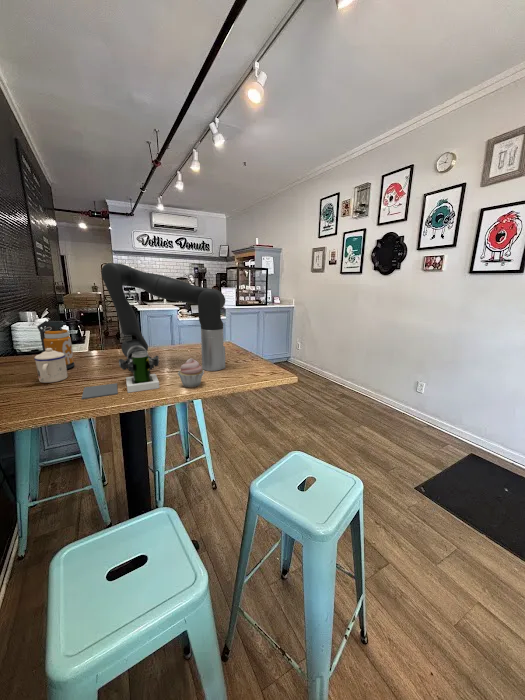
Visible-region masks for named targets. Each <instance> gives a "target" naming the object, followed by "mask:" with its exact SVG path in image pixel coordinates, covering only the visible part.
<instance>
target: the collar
mask: <svg viewBox="0 0 525 700" xmlns="http://www.w3.org/2000/svg"><path fill="white" fill-rule="evenodd" d="M125 380H126V382H125V383H126V389H127V393H135V392H142V391H150V390H155V389H156V390H157V389H160V381H159V379H158V377H157V374H156V373H150V381H151V382H144V383H137V384H134V376H133V375H132V376H126V377H125Z"/></svg>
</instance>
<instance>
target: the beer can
mask: <svg viewBox="0 0 525 700" xmlns="http://www.w3.org/2000/svg"><path fill="white" fill-rule="evenodd" d="M132 364H133V371H134V372H132V374H133V375H132V376H134V384H137V383H144V382H152V381H150V374H151V372H150V371H151V370H150V368H149V353H148V351H137V352H133V353H132Z"/></svg>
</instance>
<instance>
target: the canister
mask: <svg viewBox="0 0 525 700" xmlns="http://www.w3.org/2000/svg"><path fill="white" fill-rule="evenodd" d="M66 325H67V322H65V321H63V320H58V321H57V320H51V319H49V320H45V321H43V322H42V323H40V324H38V325H37V326H36V327H37V329H38V331H39V336H40V341H41V346H42V352H45V351H46V349H47V348H52V350H53V351H57V352H62V353H64V354H65V362H66V369H67V370H69V369H71V368H73V367H74V366H75V360H74V359H75V358H74V352H73V346H72V345H73V344H72V338H71V336H70V335H69V331H68V330H67V329H66V328H65V329H64V326H66Z"/></svg>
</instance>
